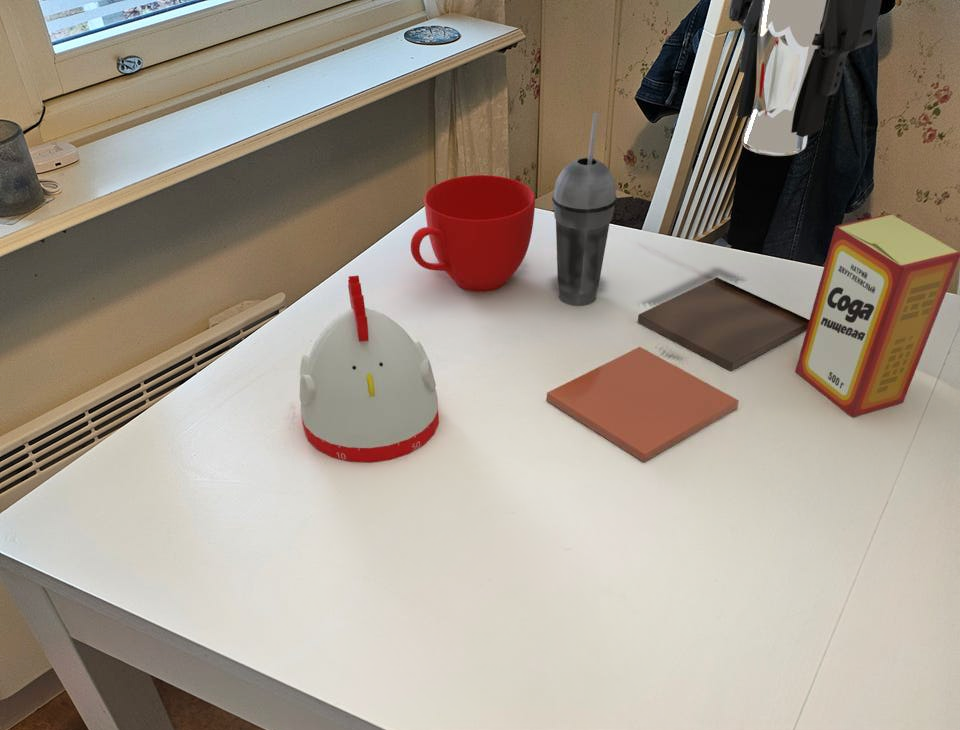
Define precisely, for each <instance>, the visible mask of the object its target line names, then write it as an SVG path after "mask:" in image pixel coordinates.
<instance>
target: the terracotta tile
mask: <svg viewBox="0 0 960 730" xmlns="http://www.w3.org/2000/svg"><path fill="white" fill-rule="evenodd" d="M545 401H546V402H548V403H549V404H551V405H552V406H554V407H555V408H557V409H559V410H560V411H562V412H563V413H565V414H567V415H568V416H570V417H571V418H573V419H575V420H577V421H578V422H579V423H581V424H583V425H584V426H586V427H587V428H588V429H590V430H591V431H594V432H595V433H597V434H598V435H600V436H601V437H603V438H604V439H606V440H607V441H609V442H611V443H612V444H614V445H615V446H617V447H619V448H620V449H622V450H623V451H625V452H627V453H628V454H630V455H631V456H633V457H634V458H636V459H637V460H639V461H641V462H643V463H645V462H647V461H648V460H651V459H652V458H654V457H656V456H657V455H659V454H661V453H662V452H664V451H666V450H667V449H670V448H671V447H674V446H675V445H676V444H678V443H680V442H681V441H683V440H685V439H687V438H689V437H690V436H692V435H694V434H695V433H697V432H699V431H701V430H702V429H704V428H707V427H708V426H709V425H711V424H713V423H714V422H716V421H718V420H720V419H722V418H723V417H725V416H727V415H729V414H730V413H732V412H734V411H735V410H737V409H738V407H739V403H740V401H739V399H737V398H735V397H733V396H731V395H730V394H729V393H726V392H725V391H723V390H720V389H718V388H717V387H715V386H713V385H711V384H710V383H707V382H706V381H704V380H702V379H700V378H699V377H696V376H695V375H693V374H691V373H689V372H687V371H686V370H684V369H682V368H680V367H678V366H677V365H675V364H673V363H671V362H670V361H667V360H665V359H663V358H661V357H659V356H658V355H656V354H654V353H652V352H650V351H648V350H647V349H645V348H643V347H642V346H638V347H636V348H633V349H632V350H630V351H628V352H625V353H624V354H622V355H620V356H618V357H615V358H613V359H612V360H610V361H608V362H606V363H604V364H602V365H600V366H598V367H596V368H594V369H592V370H590V371H587V372H586V373H584V374H582V375H579V376H578V377H576V378H573V379H572V380H569V381H567V382H565V383H564V384H561V385H560V386H557V387H556V388H553V389H552V390H550V391H547V392H546V400H545Z"/></svg>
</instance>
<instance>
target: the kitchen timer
mask: <svg viewBox="0 0 960 730" xmlns="http://www.w3.org/2000/svg"><path fill="white" fill-rule="evenodd" d="M347 281H348V284H347V287H348V288H347V289H348V296H349V302H350V306H351V308H350V309H347V310H345V311H343V312H341V313H339V314H338V315H337V316H336V317H334V318H333V319H331V321H329V322H328V324H326V326H325V327H324V328H323V329H322V331H321V333H320V334H319V336H317V338H316V340H315V342H314V344H313V346H312V348H311V350H310V352H309V355H306V354H303V355H302V357H301V359H300V360H301V361H300V369H299V400H300V401H299V402H300V417H301V423H302V428H303V432H304V434H305V436H306V439H307V441H308V442H309V443H310V444H311V446H313V447H314V448H315V449H316V450H317V451H318V452H321V453H322V454H325V455H326V456H329V457H331V458H333V459H337V460H342V461H347V462H355V463H374V462H382V461H383V462H384V461H390V460H394V459H396V458H399V457H402V456H406V455H409V454H411V453H413V452H414V451H416V450H418V449H419V448H421V447H424V446H425V445H426V444H427V442H429V440H430V439H432V438H433V436H434V435H435V434H436V431H437V429H438V427H439V424H440V419H439V417H440V416H439V400H438V393H437V388H436V387H437V384H436V380H435V376H434V372H433V369H432V365H431V361H430V359H429V357H428V355H427V353H426V350H425V349H424V346H423V345H422V342H420V341H418V340H417V341H416V342H415V341H414V340H413V339H412V337H411V336H410V334H408V332H407V331H406V330H405V329H404V328H403V327H402V326H401V325H400V324H399V323H397V322H396V321H395V320H394V319H392V318H391V317H389V316H388V315H386V314H384V313H383V312H380V311H378V310H375V309H372V308H368V307H365V306H366V305H365V298H364V294H363V291H362V290H363V289H362V285H361V282H360V276H359V275H350V276H348V280H347Z"/></svg>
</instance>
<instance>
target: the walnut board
mask: <svg viewBox="0 0 960 730" xmlns="http://www.w3.org/2000/svg"><path fill="white" fill-rule="evenodd" d="M809 320H810V318H809V319H808V318H806V317H804V316H803V315H800V314H798V313H796V312H794V311H791V310H789V309H787V308H784V307H783V306H780V305H779V304H776V303H774V302H772V301H769V300H767V299H765V298H763V297H761V296H758V295H756V294H754V293H752V292H750V291H748V290H745V289H744V288H741V287H739V286H737V285H734V284H732V283H730V282H728V281H726V280H724V279H722V278H719V277H716V276H715V277H714V278H712V279H710V280H708V281H706V282H703V283H701V284H700V285H697V286H695V287H693V288H691V289H689V290H687V291H685V292H683V293H681V294H678V295H676V296H675V297H672V298H670V299H668V300H665V301H664V302H661V303H660V304H658V305H656V306H653V307H651V308H649V309H647V310H644V311H643V312H640V313H638V315H637V321H636V322H637V323H638V324H640V325H642V326H643V327H646V328H647V329H650V330H651V331H653V332H655V333H657V334H659V335H660V336H663V337H665V338H667V339H669V340H671V341H673V342H674V343H676V344H678V345H680V346H682V347H684V348H685V349H688V350H689V351H691V352H694V353H695V354H697V355H699V356H701V357H703V358H704V359H707V360H708V361H711V362H713V363H714V364H717V365H718V366H720V367H722V368H724V369H726V370H728V371H730V372H732V371H734V370H736V369H738V368H739V367H741V366H744V365H745V364H747V363H749V362H751V361H752V360H755V359H756V358H758V357H760V356H762V355H763V354H765V353H768V352H769V351H772V350H773V349H774V348H776V347H778V346H780V345H781V344H784V343H785V342H787V341H789V340H791V339H793V338H795V337H797V336H798V335H800V334H801V333H804V332H806V331H807V327H808V323H809Z"/></svg>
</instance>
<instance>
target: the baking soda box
mask: <svg viewBox="0 0 960 730" xmlns="http://www.w3.org/2000/svg"><path fill="white" fill-rule="evenodd" d="M959 261H960V252H959V251H958V250H956V249H954V248H952V247H951V246H949V245H947V244H945V243H943V242H941V241H940V240H939V239H937V238H935V237H933V236H931V235H929V234H928V233H927V232H924V231H922V230H920V229H918V228H917V227H915V226H913V225H912V224H909V223H908V222H906V221H904V220H902V219H901V218H900V217H897V216H895V215H894V214H892V213H887V214H882V215H878V216H873V217H869V218H865V219H859V220H856V221H851V222H847V223H842V224H838V225H835V227H834V230H833V233H832V237H831V241H830V245H829V248H828V252H827V256H826V259H825V262H824V266H823V269H822V273H821V276H820V281H819V284H818V289H817V291H816V295H815V299H814V302H813V306H812V309H811V312H810V317H809V323H808V327H807V330H805V335H804V338H803V342H802V346H801V348H800V353H799V356H798V359H797V363H796V367H795V370H794V372H795V373H796V374H797V375H798V376H800V377H801V378H802V379H803V380H804V381H806V382H807V383H809V385H811V386H812V387H813V388H815V390H817V391H819V392H820V393H821V394H822V395H824V397H826V398H827V399H829V401H831V402H832V403H833V404H835V405H836V406H837V407H839V409H841V410H842V411H843V412H845V413H846V414H847V415H848V416H849V417H850V418H856V417H860V416H862V415H866V414H868V413H872V412H875V411H879V410H883V409H887V408H889V407H892V406H897V405H898V404H902V403H904V402H905V399H906V396H907V394H908V391H909V389H910V387H911V384H912V381H913V378H914V376H915V373H916V371H917V368H918V366H919V363H920V360H921V359H922V355H923V353H924V350H925V348H926V345H927V342H928V340H929V338H930V335H931V333H932V330H933V327H934V324H935V322H936V319H937V317H938V314H939V312H940V309H941V307H942V304H943V302H944V299H945V297H946V294H947V291H948V289H949V287H950V284H951V281H952V279H953V276H954V273H955V270H956V268H957V265H958V263H959Z"/></svg>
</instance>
